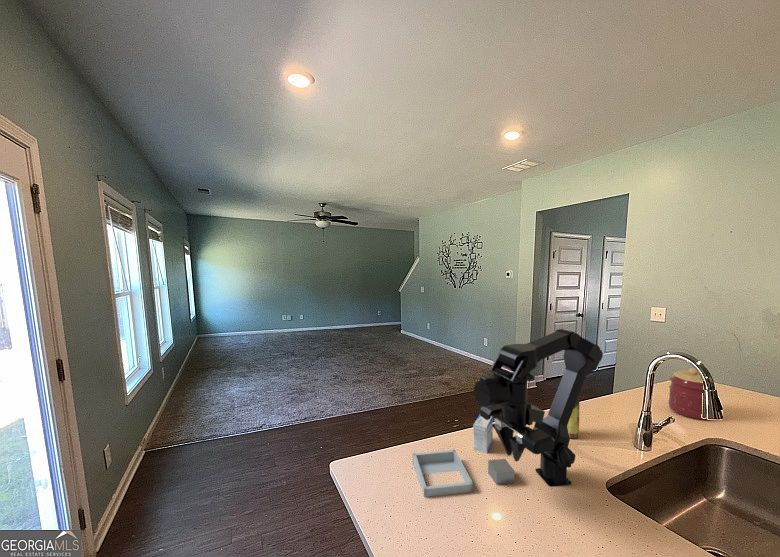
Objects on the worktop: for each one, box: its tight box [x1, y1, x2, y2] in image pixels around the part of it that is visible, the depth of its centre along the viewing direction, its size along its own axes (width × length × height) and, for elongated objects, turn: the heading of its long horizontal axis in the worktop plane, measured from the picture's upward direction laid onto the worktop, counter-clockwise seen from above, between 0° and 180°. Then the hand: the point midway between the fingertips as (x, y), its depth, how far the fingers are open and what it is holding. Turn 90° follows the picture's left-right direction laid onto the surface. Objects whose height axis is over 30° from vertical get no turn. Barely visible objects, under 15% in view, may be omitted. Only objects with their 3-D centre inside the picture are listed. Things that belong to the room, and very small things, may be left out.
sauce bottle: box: [567, 397, 580, 439], centre depth 104 cm, size 6×6×20 cm
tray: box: [412, 449, 475, 498], centre depth 83 cm, size 14×13×4 cm
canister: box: [668, 367, 717, 421], centre depth 118 cm, size 13×13×18 cm
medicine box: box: [472, 414, 494, 454], centre depth 98 cm, size 8×4×9 cm, turn 149°
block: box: [487, 458, 516, 486], centre depth 82 cm, size 5×5×4 cm
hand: (513, 457), depth 76 cm, fingers closed
